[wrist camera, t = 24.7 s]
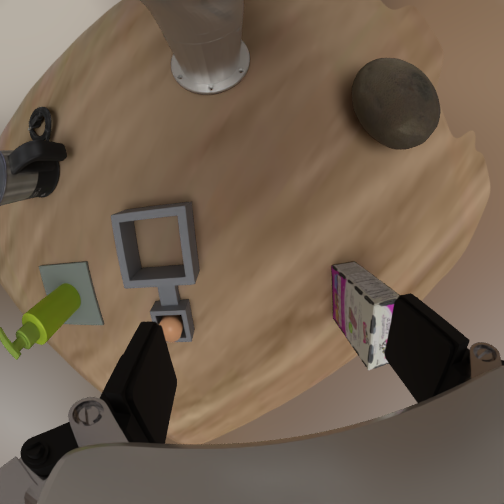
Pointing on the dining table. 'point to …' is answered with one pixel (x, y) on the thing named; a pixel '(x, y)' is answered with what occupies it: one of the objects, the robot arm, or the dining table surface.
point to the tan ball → (172, 327)
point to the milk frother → (31, 164)
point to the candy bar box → (363, 311)
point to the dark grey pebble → (395, 103)
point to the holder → (162, 275)
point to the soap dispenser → (43, 319)
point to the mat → (81, 281)
